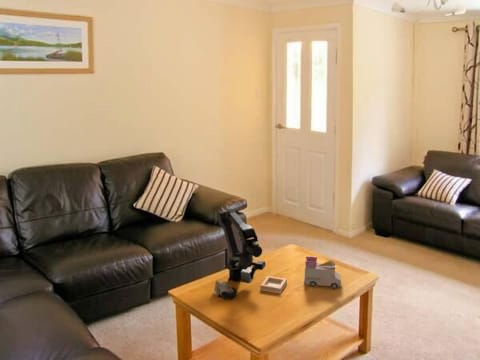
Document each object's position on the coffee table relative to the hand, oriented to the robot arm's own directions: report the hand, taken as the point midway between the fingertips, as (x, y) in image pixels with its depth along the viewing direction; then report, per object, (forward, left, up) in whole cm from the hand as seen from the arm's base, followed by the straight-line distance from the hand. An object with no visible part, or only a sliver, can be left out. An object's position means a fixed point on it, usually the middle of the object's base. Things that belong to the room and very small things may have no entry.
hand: (247, 278), depth 249 cm
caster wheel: (-7, -11, -6) cm, 15 cm away
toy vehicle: (+37, +17, -6) cm, 41 cm away
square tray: (+13, +6, -6) cm, 15 cm away
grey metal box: (0, 0, -1) cm, 1 cm away
